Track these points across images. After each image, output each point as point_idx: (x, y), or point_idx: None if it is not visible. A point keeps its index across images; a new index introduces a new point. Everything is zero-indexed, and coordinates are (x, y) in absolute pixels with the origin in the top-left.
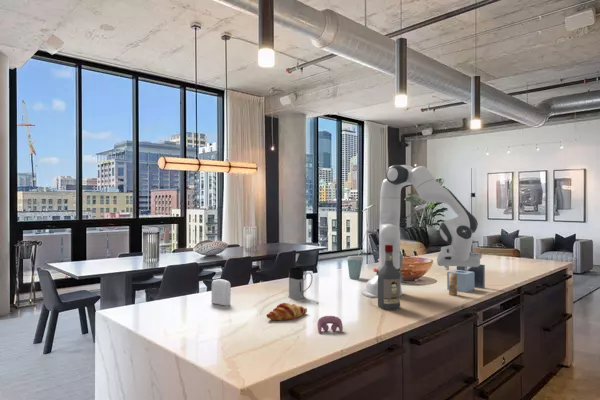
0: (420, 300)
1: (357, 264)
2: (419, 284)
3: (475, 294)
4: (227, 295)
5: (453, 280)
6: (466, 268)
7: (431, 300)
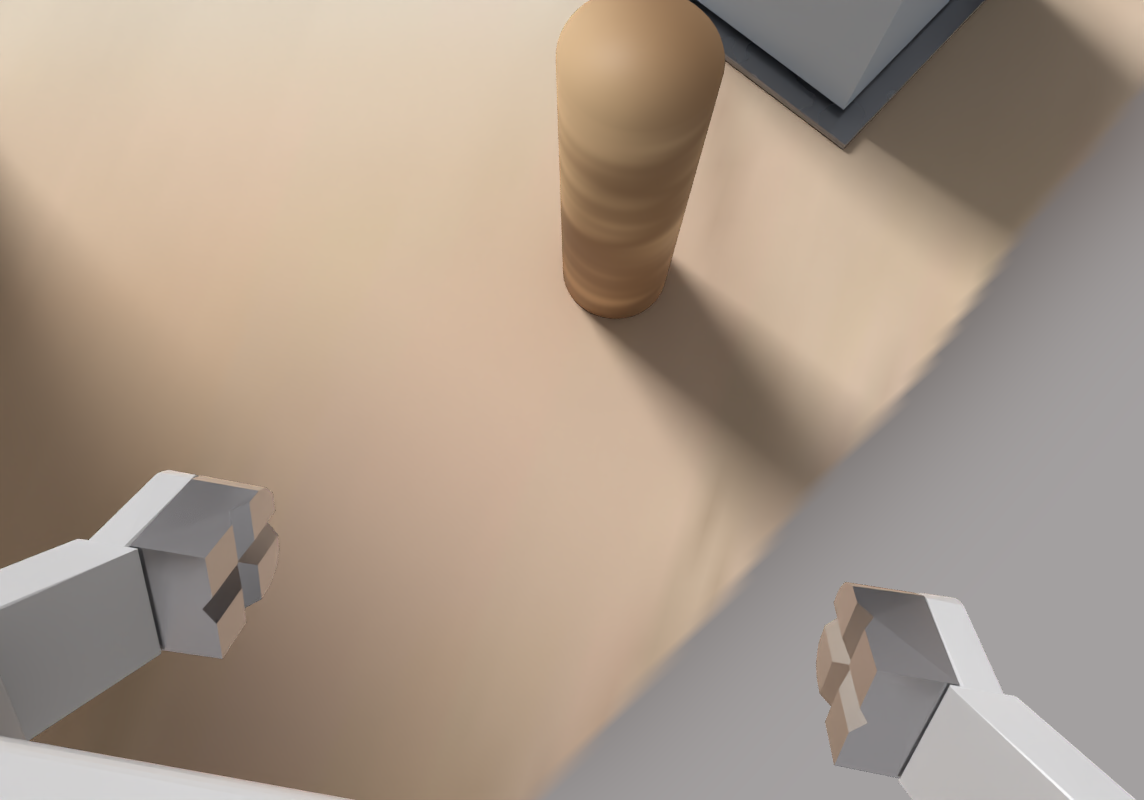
0: None
1: None
2: None
3: (949, 170)
4: None
5: (617, 202)
6: (874, 754)
7: None
